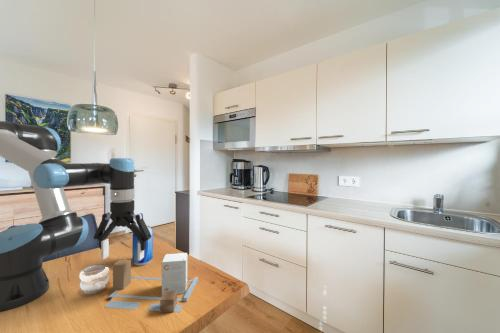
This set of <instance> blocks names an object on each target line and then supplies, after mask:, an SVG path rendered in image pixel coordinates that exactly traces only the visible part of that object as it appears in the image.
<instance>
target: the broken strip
mask: <svg viewBox="0 0 500 333" xmlns="http://www.w3.org/2000/svg"><path fill="white" fill-rule="evenodd" d="M140 304H141V302H136V301H135V302H134V301H122V300H121V301H120V300H119V301H118V300H110V301H109V302H108V303H107V304H106V305H105V306H104V308H106V309H107V308H108V309H109V308H110V309H122V310H124V309H125V310H136V309H137V308H138V307H139V306H140ZM183 306H184V305H182V304H176V307H175V310H174V312H173V313H180V312H181V310H182V308H183ZM147 311H154V312H155V311H157V312H160V303H154V302H153V303H152V304H151V305H150V306H149V308H147Z"/></svg>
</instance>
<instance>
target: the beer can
mask: <svg viewBox="0 0 500 333" xmlns="http://www.w3.org/2000/svg"><path fill="white" fill-rule="evenodd" d="M146 226H147V228H148V230H149V232H150V234H151V236H152V237H151V238H150V239H148V240H147V241H146V249H145V250H144V258H142V259H141V260H140V261H138V242H139V240H138V238H137V237H136V236H135V235H134V233H133V232H132V254H131V255H132V259H131V261H132V262H131V263H133V264H134V265H135V266H139V267H140V266H141V267H142V266H145V265H148V264H150V263H151V261H152V260H153V257H154V231H153V229H152V226H150V225H146Z"/></svg>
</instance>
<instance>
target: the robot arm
mask: <svg viewBox="0 0 500 333" xmlns="http://www.w3.org/2000/svg"><path fill="white" fill-rule="evenodd" d="M61 144H62V141H61V138H60V135H59V134H58V133H57V131H55V130H54V129H53V128H51V127H47V126H43V125H33V124H27V123H19V122H13V121H12V122H11V121H6V120H5V121H3V120H0V157H1V158H3V159H5V160H6V161H8V162H10V163H12V164H14V165H16V166H17V167H18V168H21V169H23V170H24V171H27V172H28V175H29V178H30V181H31V184H32V187H33V191H34V194H35V198H36V201H37V204H38V207H39V210H40V214H41V217H42V218H41V219H40V220H39V221H38V223H37V222H36V223H27V224H21V225H20V224H19V225H16V226H13V227H10V228H7V229H4V230H2V231H0V312H1V311H2V312H3V311H7V310H11V309H15V308H17V307H21V306H23V305H26V304H28V303H30V302H33V301H34V300H37V299H38V298H40V297H41V296H43V295H44V294H46V293H47V292H48V291H49V288H50V280H49V278H48V276H47V274H46V272H45V270H44V269H43V268H44V267H43V259H44V258H46V257H50V256H52V255H55V254H58V253H60V252H64V251H66V250H69V249H72V248H75V247H77V246H79V245H81V244H82V243H83V242H85V241H86V239H87V237H88V234H89V223H88V221H87V219H86V218H85V217H83V216H79V215H78V214H77V211H74V210H73V209H71V206H70V205H69V204H70V203H69V201H68V198H67V195H66V191H65V189H64V188H70V187H77V186H78V187H79V186H88V185H99V184H100V185H101V184H104V185H105V184H109V191H110V192H109V198H110V203H109V211H110V212H106V213H103V214H102V215H101V220H100V223H99V225H98V226H97V229H96V232H95V234H94V236H93V239H94V240H98V241H99V250H100V252H101V253H100V256H101V260H105V259H106V258H108V257H110V243H109V240H110V239H109V238H108V236H110V234H111V233H112V232H113V230H114V229H115V228H116V227H118V228H119V227H123V228H125V227H126V228H127V229H129V230H130V231H131V233H132V234H133V233H134V235H135V236H136V237H137V238H138V240H139V242H138V261H140V260H141V259H142V258H144V250H145V249H146V241H147V240H148V239H150V238H151V237H152V236H151V234H150V232H149V230H148V228H147V226H148V225H147V223H146V222H145V219H144V214H143V213H138V214H137V213H136V214H135V200H134V199H135V165H134V164H135V163H134V160H133V158H129V157H125V158H122V157H121V158H120V157H119V158H118V157H112V158H109V163H101V162H92V163H90V162H89V163H77V162H76V163H73V162H72V163H68V162H65V161H63V160H61V159H60V158H59V159H58V158H57V157H56V156H57V155H58V152H59V151H60V149H61ZM110 220H111V222H110ZM109 222H110V223H109ZM108 224H109V225H108Z"/></svg>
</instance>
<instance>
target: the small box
mask: <svg viewBox="0 0 500 333" xmlns="http://www.w3.org/2000/svg"><path fill="white" fill-rule="evenodd" d="M161 278H162V280H161V296H162V295H163V293H164V292H170V291H177V295H183V294H184V295H185V294H186V292H187V287H188V282H187V280H188V252H179V253H167V254H166V253H165V255H164V257H163V259H162V261H161Z"/></svg>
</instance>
